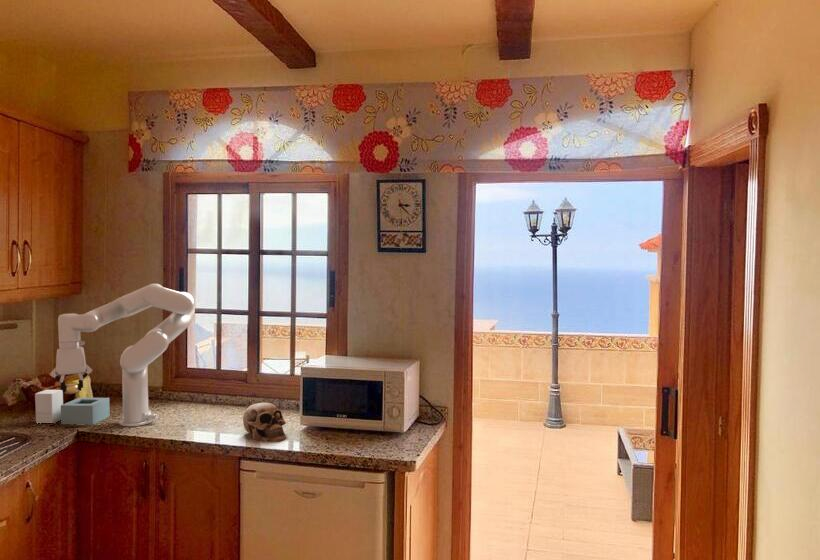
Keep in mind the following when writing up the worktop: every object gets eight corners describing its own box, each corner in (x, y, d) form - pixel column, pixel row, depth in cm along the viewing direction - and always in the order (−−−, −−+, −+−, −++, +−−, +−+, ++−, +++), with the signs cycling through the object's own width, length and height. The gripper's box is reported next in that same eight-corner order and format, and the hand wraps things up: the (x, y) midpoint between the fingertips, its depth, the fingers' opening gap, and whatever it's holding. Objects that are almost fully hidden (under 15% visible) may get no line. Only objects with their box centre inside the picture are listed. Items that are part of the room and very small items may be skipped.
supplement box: (64, 419, 257) (63, 389, 257) (52, 424, 250) (51, 393, 249) (47, 419, 258) (46, 389, 257) (35, 424, 251) (34, 393, 250)
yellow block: (79, 390, 247) (79, 382, 247) (79, 392, 243) (79, 385, 243) (65, 391, 245) (64, 384, 245) (64, 394, 240) (64, 386, 240)
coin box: (109, 416, 262) (109, 397, 261) (92, 425, 249) (92, 405, 248) (79, 416, 262) (79, 397, 262) (61, 425, 249) (60, 405, 249)
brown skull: (283, 441, 227) (279, 405, 227) (237, 446, 228) (233, 410, 228) (293, 430, 242) (290, 397, 242) (250, 434, 244) (246, 401, 243)
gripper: (94, 342, 250) (96, 386, 251) (45, 345, 242) (47, 391, 243) (94, 344, 243) (96, 390, 244) (44, 348, 235) (46, 395, 237)
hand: (72, 390), depth 244 cm, fingers closed on yellow block, 4 cm apart
